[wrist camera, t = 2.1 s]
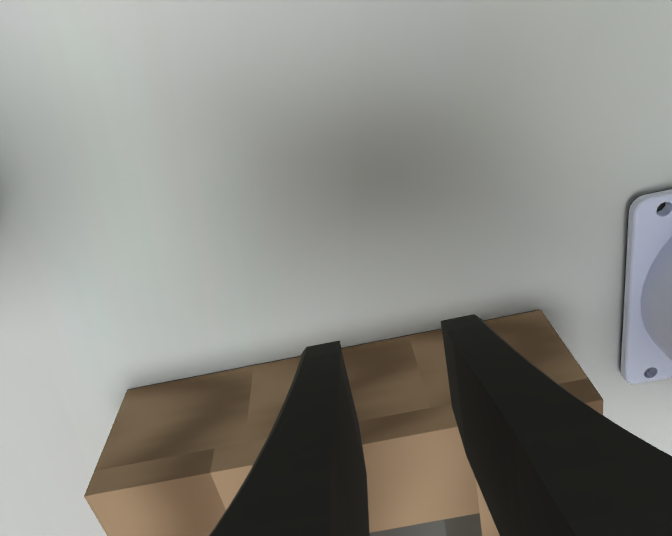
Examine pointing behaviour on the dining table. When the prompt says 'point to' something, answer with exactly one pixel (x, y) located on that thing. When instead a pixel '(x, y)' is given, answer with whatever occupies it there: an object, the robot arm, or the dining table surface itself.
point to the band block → (261, 413)
